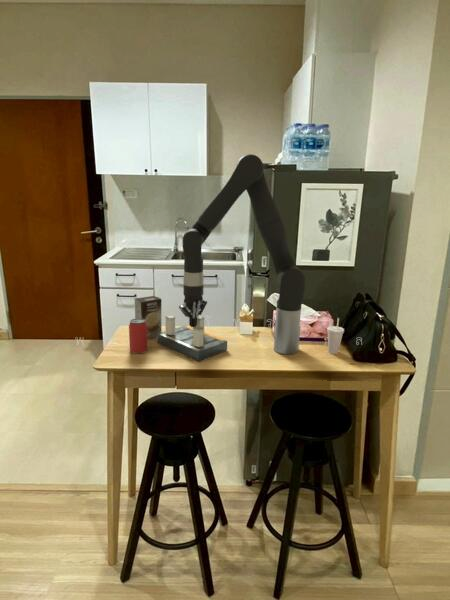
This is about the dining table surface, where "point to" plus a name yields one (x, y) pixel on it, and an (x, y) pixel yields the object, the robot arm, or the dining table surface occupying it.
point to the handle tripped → (200, 321)
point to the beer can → (138, 335)
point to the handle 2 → (198, 336)
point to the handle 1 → (170, 325)
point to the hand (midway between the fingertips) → (193, 326)
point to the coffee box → (149, 314)
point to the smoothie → (334, 338)
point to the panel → (184, 344)
